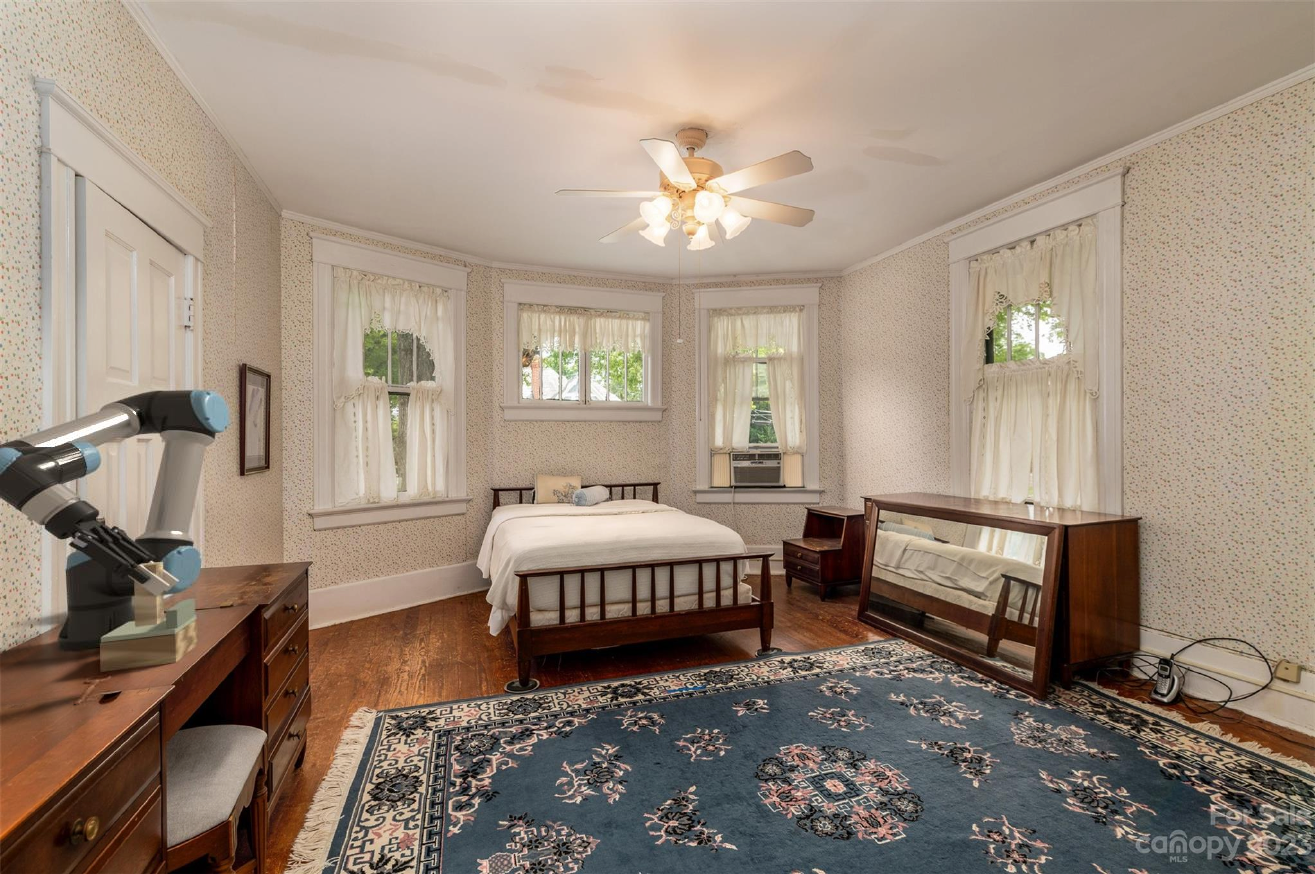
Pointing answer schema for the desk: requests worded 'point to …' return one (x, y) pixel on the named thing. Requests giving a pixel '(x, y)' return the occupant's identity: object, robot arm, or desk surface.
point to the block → (149, 600)
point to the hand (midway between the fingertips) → (168, 588)
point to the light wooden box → (147, 650)
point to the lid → (171, 624)
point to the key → (91, 687)
